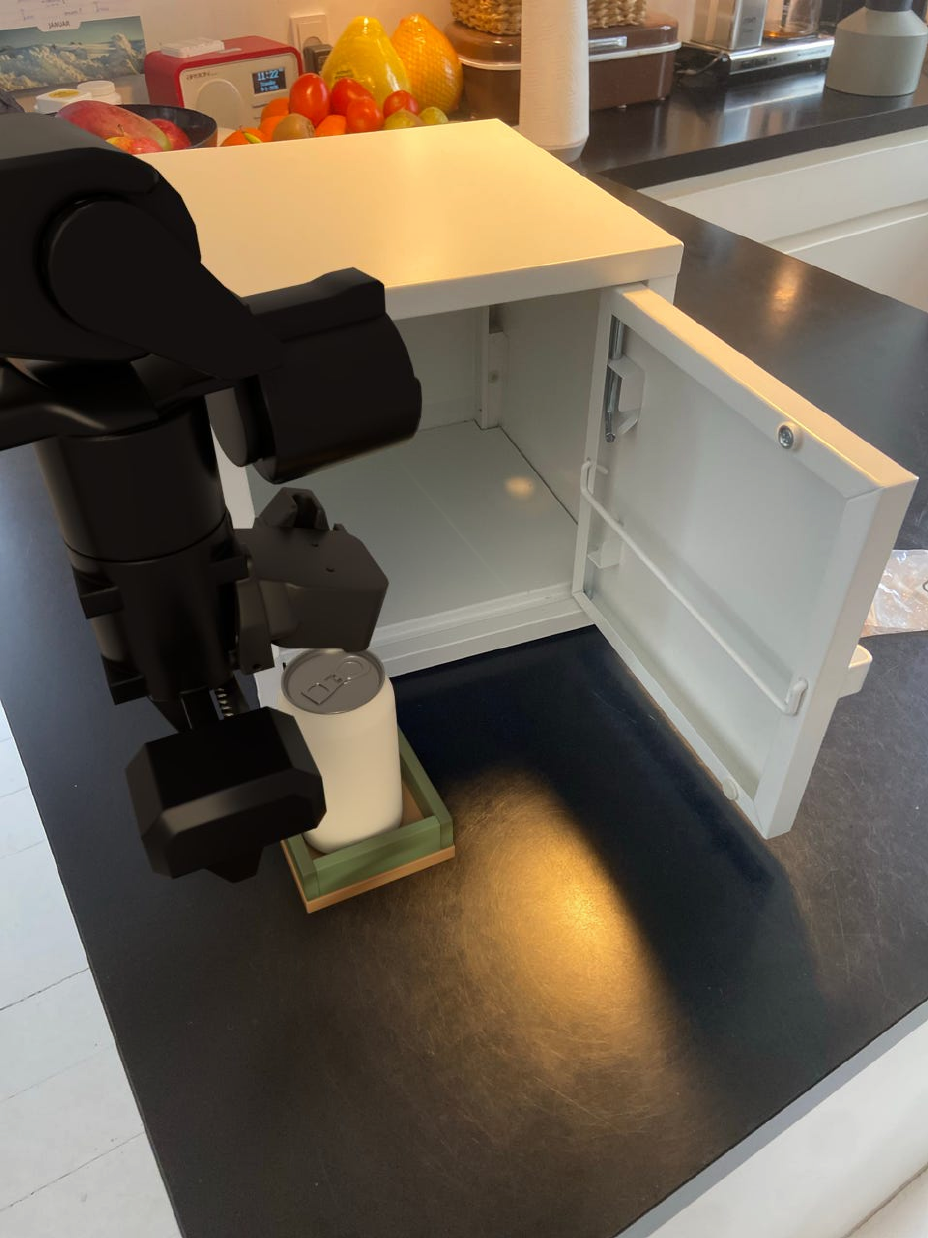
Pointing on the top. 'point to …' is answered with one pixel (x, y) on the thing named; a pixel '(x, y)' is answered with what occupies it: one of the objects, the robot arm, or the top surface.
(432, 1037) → the top surface
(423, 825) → the tray
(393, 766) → the can
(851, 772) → the top surface
